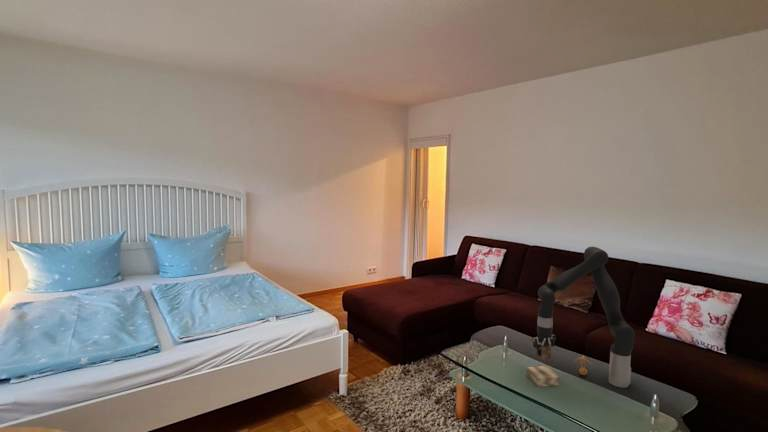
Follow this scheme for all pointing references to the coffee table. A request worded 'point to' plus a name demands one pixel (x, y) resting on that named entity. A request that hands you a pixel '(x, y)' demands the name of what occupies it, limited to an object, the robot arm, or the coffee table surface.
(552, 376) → the birch block
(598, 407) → the coffee table surface
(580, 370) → the figurine
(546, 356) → the walnut block
